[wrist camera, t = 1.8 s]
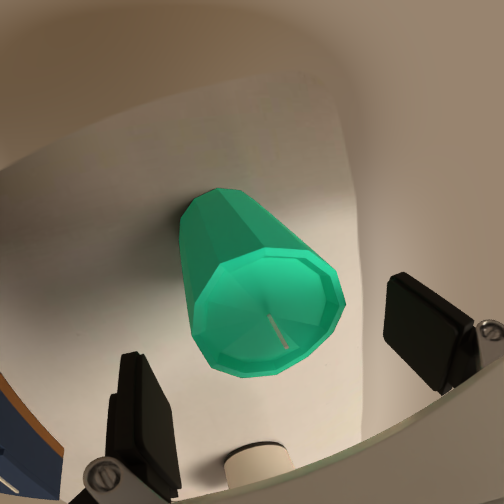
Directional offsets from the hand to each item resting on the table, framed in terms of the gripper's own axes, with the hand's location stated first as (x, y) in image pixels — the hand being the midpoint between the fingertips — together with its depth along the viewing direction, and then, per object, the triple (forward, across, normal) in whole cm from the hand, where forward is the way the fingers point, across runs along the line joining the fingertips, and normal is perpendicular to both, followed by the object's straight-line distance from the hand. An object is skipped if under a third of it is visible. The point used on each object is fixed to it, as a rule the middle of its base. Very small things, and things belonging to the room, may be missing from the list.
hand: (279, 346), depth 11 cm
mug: (+12, +3, +29) cm, 32 cm away
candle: (+12, 0, -1) cm, 12 cm away
